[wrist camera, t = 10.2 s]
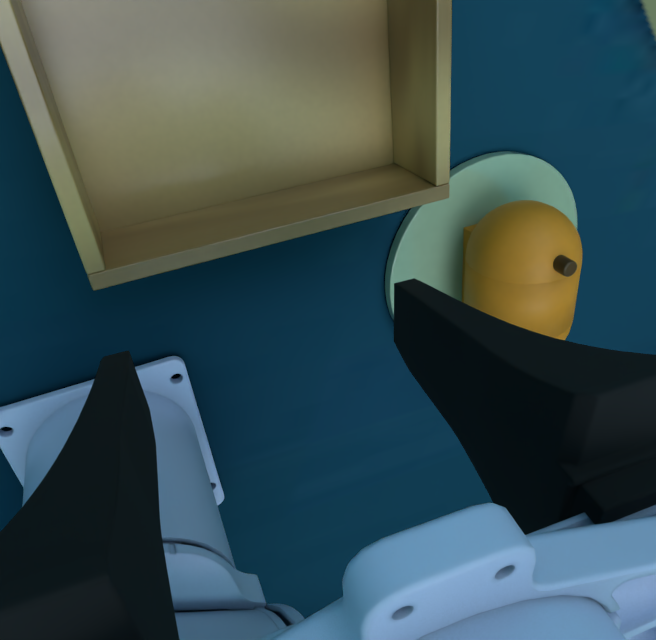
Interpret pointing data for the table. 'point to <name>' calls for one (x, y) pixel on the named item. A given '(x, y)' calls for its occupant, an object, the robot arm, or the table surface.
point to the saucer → (468, 217)
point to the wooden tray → (229, 119)
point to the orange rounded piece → (523, 267)
